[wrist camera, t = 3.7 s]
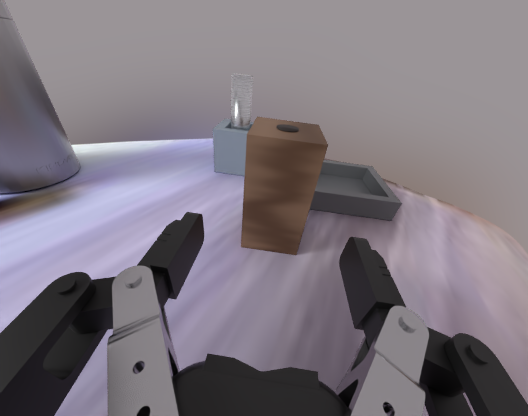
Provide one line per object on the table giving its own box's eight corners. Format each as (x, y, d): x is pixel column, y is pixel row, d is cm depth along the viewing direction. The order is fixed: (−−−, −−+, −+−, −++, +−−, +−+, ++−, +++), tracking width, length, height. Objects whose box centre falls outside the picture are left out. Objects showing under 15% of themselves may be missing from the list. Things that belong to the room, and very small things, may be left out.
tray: (290, 206, 24) (294, 188, 23) (290, 170, 32) (293, 155, 31) (391, 220, 24) (401, 203, 23) (365, 180, 32) (372, 166, 31)
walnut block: (241, 246, 18) (246, 132, 12) (249, 213, 22) (257, 115, 16) (296, 255, 18) (328, 143, 12) (294, 220, 22) (318, 123, 16)
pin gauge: (229, 168, 31) (229, 74, 24) (232, 161, 33) (234, 73, 26) (246, 170, 31) (251, 76, 24) (248, 164, 33) (254, 75, 26)
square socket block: (214, 171, 29) (212, 128, 26) (225, 156, 34) (224, 118, 31) (255, 177, 29) (259, 135, 26) (260, 161, 34) (264, 123, 31)
